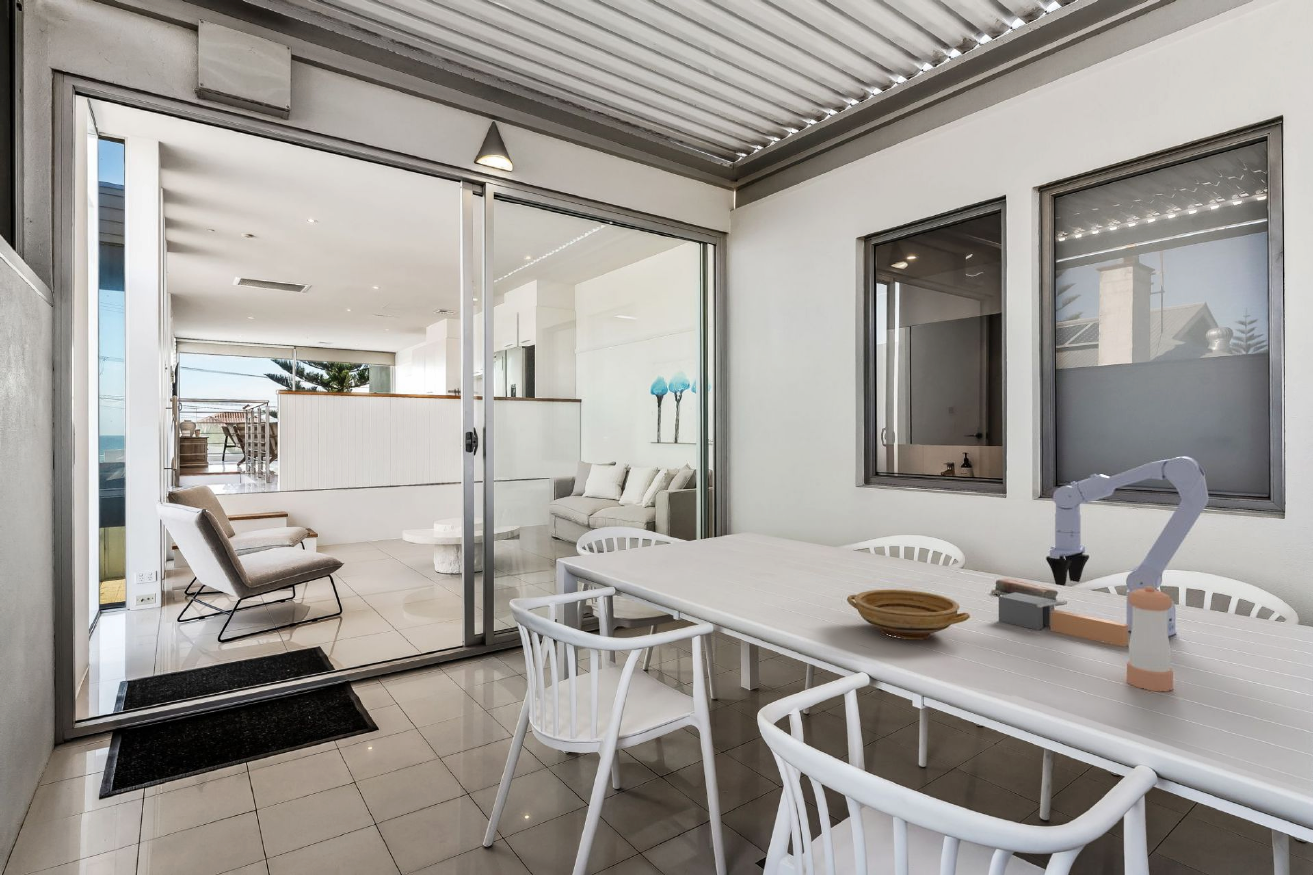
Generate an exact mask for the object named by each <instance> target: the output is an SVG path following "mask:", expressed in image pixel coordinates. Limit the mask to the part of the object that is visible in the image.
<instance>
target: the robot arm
mask: <svg viewBox="0 0 1313 875" xmlns="http://www.w3.org/2000/svg"><path fill="white" fill-rule="evenodd" d="M1148 479H1152V480H1153V479H1154V480H1160V481H1163V480H1165V479H1167V480H1168V482H1170V483H1171V484H1172V485H1173V486H1174V487H1175V488H1176V491H1177V493H1178V495H1179V496H1180V499H1181V501H1180V502H1179V504H1178V505H1177V507H1176V509H1175V510H1174V512H1173V514H1172V516H1171V517H1170V518H1169V520H1168V521H1167V523H1166V525H1165V526H1164V527H1163V529H1162V531H1161V532H1160V534H1159V536H1158V537H1157V539H1156V540H1155V542H1154V543H1153V545H1152V547H1151V549H1150V550H1149V552H1148V553H1147V555H1146V556H1145V558H1144V559H1143V560H1142V561H1141V563H1140V564H1139V565H1138V566H1136V567H1135V568H1134V569H1133V570H1132V571H1131V572H1130V573H1129V574H1128V575H1127V576H1126V579H1125V584H1126V587H1127V590H1126V609H1125V610H1126V612H1125V613H1126V616H1125V618H1126V619H1125V621H1126V623H1125V624H1128V632H1130V633H1131V632H1132V619H1133V606H1132V605H1130V603H1129V601H1128V595H1129V594H1130V593H1131V592H1132V591H1134V590H1138V589H1145V587H1146V586H1151V587H1154V589H1155V590H1156V591H1160V589H1158V588H1159V587H1160V586H1161V584H1162V583H1163V573H1164V571H1165V570H1166V568H1167V566H1168V565H1169V563H1170V562H1171V560H1172V559H1173V557H1174V555H1175V554H1176V553H1177V551H1178V550H1179V548H1180V546H1182V543H1183V542H1184V540H1185V538H1186V537H1187V535H1188V534H1189V532H1190V531H1191V529H1192V527H1193V526H1194V525H1195V523H1196V522H1197V520H1198V518H1199V517H1200V515H1201V514H1202V512H1203V511H1204V509H1205V508H1206V507H1207V504H1208V503H1209V498H1210V497H1209V492H1208V486H1207V482H1206V474H1205V471H1204V470H1203V468H1202V466H1201V465H1200V463H1199V462H1198V461H1197V460H1196V459H1194V458H1193V457H1190V456H1183V455H1182V456H1178V457H1175V458H1171V459H1164V460H1163V459H1162V460H1159V461H1158V460H1157V461H1153V462H1148V463H1145V464H1143V465H1141V466H1137V467H1134V468H1132V469H1129V470H1125V471H1123V472H1120V473H1118V474H1115V475H1112V476H1108V475H1106V474H1105V475H1104V474H1101V473H1100V474H1097V473H1093V474H1089V478H1085V479H1082V480H1079V481H1076V480H1074V481H1071V482H1070V485H1063V486H1062V485H1061V487H1059V488H1057V489H1056V490H1055V491H1054V493H1053V495H1052V499H1053V502H1054V504H1055V512H1054V513H1055V514H1054V522H1055V523H1054V524H1055V525H1054V526H1055V527H1054V541H1055V542H1054V545H1050V550H1049V555H1047V556H1045V560H1046V562H1047V563H1048V565H1049V567H1050V569H1051V572H1052V576H1053V579H1054V582H1055V583H1054V584H1055V585H1057V586H1066V585H1067V584H1066V583H1067V578H1069V581H1070V582H1077V583H1079V582H1080V581H1081V578H1082V575H1083V574H1082V573H1083V571H1084V568H1085V565H1086V563H1087V562H1088V561H1089V559H1090V555H1089V554H1085V553H1086V546H1085V545H1082V544H1081V539H1082V538H1081V535H1082V534H1081V524H1082V523H1081V504H1082V503H1083V504H1087V503H1090V502H1093V501H1097V500H1101V499H1104V498H1107V497H1110V496H1112V495H1113V494H1114V491H1115V490H1116V489H1117V488H1120V487H1124V486H1128V485H1131V484H1135V483H1139V482H1141V481H1145V480H1148ZM1172 603H1173V604H1172V606H1171V608H1170V609H1169V610H1167V633H1168V637H1170V636H1173V635H1176V634H1177V631H1176V605H1175V601H1173V600H1172Z"/></svg>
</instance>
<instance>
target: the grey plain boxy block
mask: <svg viewBox="0 0 1313 875" xmlns="http://www.w3.org/2000/svg"><path fill="white" fill-rule="evenodd" d="M1056 603H1058V601H1057V600H1052V599H1047V598H1042V597H1037V596H1031V595H1026V594H1021V593H1016V592H1015V593H1010V594H1006V595H1002V596H999V595H998V621H999V622H1001V621H1003V622H1002V623H1005V622H1006V624H1010V623H1012V624H1011V625H1014V624H1015V626H1017V627H1018V626H1020V627H1022V626H1024V627H1023V628H1027V629H1031V628H1033V629H1032V630H1036V631H1039V630H1042V628H1043V629H1044V626H1045V627H1051V611H1053V610H1055V606H1054V604H1056Z"/></svg>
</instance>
